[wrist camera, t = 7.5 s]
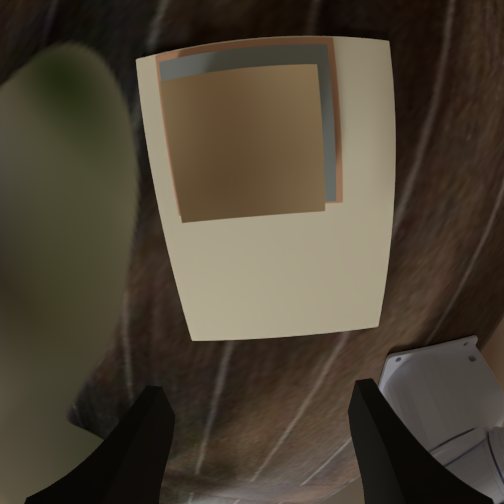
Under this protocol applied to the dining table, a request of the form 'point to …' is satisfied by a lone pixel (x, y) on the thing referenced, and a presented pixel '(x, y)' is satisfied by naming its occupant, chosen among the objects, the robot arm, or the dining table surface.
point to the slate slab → (271, 58)
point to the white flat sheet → (290, 215)
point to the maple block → (246, 142)
